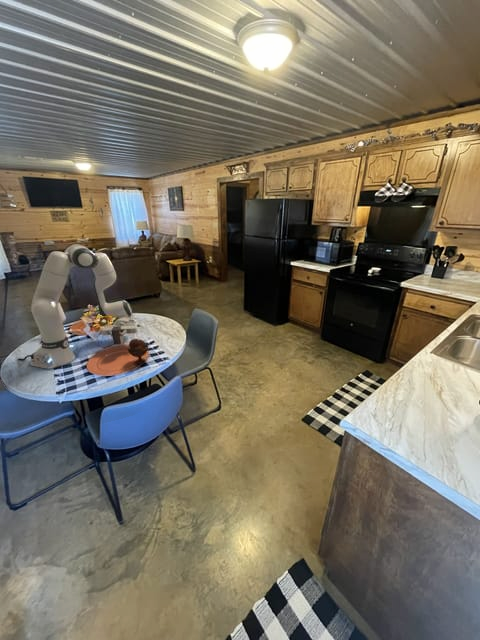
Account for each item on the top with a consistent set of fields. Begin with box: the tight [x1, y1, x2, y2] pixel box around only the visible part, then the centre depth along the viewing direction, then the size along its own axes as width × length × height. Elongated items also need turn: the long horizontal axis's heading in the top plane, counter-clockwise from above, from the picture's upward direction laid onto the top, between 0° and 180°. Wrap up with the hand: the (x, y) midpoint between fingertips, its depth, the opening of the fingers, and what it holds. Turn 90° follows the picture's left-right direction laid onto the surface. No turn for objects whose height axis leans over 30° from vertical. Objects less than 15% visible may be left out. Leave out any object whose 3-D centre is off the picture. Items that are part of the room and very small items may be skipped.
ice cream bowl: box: [127, 338, 149, 366], centre depth 148 cm, size 11×11×15 cm
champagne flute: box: [57, 301, 71, 338], centre depth 177 cm, size 7×7×24 cm
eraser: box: [111, 326, 124, 346], centre depth 153 cm, size 4×6×9 cm
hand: (116, 335), depth 152 cm, fingers closed on eraser, 4 cm apart
